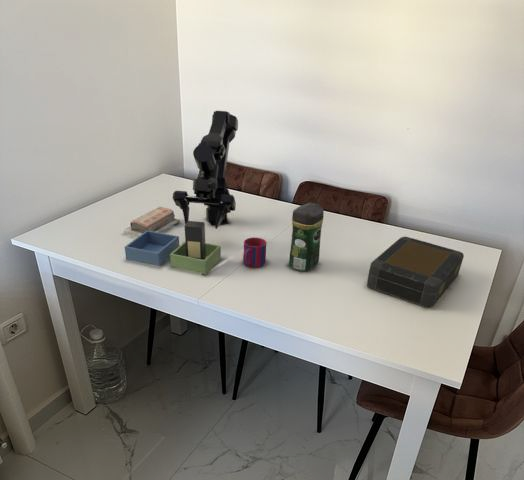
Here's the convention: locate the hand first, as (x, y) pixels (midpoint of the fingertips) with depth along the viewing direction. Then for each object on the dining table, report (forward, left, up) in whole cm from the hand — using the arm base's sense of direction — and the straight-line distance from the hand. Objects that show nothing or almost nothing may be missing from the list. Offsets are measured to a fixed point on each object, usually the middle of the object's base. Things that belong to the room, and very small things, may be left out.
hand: (201, 227), depth 151 cm
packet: (+4, +7, -8) cm, 11 cm away
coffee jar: (-27, +18, -8) cm, 33 cm away
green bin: (+4, +7, -8) cm, 12 cm away
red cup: (-12, +13, -9) cm, 19 cm away
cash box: (-54, +36, -8) cm, 65 cm away
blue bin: (+15, -2, -8) cm, 17 cm away
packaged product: (+11, -22, -8) cm, 26 cm away
